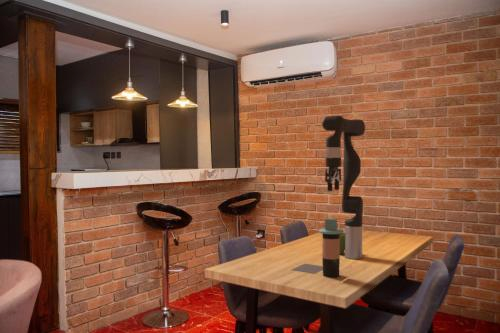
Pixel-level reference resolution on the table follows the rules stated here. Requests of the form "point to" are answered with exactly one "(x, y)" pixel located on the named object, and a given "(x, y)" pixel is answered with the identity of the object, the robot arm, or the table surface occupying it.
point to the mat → (308, 268)
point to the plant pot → (342, 243)
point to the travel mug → (331, 255)
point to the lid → (331, 227)
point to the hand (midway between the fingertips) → (333, 190)
